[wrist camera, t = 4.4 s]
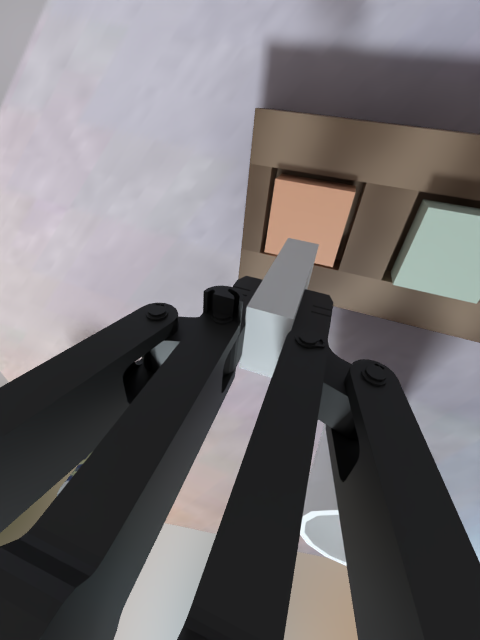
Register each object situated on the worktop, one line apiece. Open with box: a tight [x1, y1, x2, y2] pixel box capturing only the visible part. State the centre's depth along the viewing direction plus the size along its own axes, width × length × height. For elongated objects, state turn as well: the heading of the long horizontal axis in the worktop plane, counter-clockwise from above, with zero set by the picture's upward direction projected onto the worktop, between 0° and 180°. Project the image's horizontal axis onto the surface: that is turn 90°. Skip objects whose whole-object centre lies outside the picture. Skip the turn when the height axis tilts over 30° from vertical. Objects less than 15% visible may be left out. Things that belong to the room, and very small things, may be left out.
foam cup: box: [300, 424, 347, 566], centre depth 28 cm, size 10×9×13 cm
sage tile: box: [391, 199, 480, 304], centre depth 18 cm, size 5×5×2 cm
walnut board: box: [238, 108, 480, 343], centre depth 20 cm, size 27×12×3 cm, turn 85°
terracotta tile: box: [264, 174, 356, 267], centre depth 21 cm, size 5×5×2 cm
